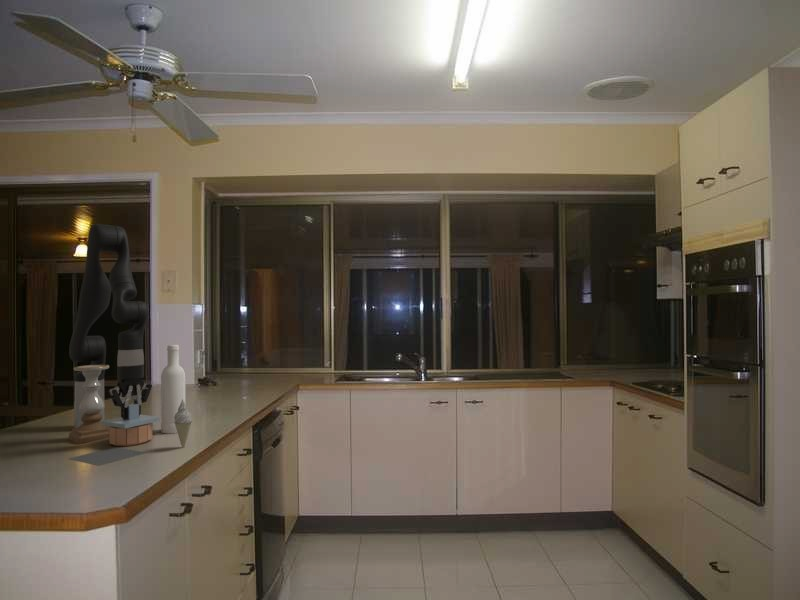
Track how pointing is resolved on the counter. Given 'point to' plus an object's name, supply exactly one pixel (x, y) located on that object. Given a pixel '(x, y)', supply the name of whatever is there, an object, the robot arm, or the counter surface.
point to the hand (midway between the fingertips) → (130, 417)
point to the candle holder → (90, 408)
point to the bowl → (130, 435)
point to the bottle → (171, 390)
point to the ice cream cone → (182, 423)
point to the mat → (107, 456)
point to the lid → (131, 418)
